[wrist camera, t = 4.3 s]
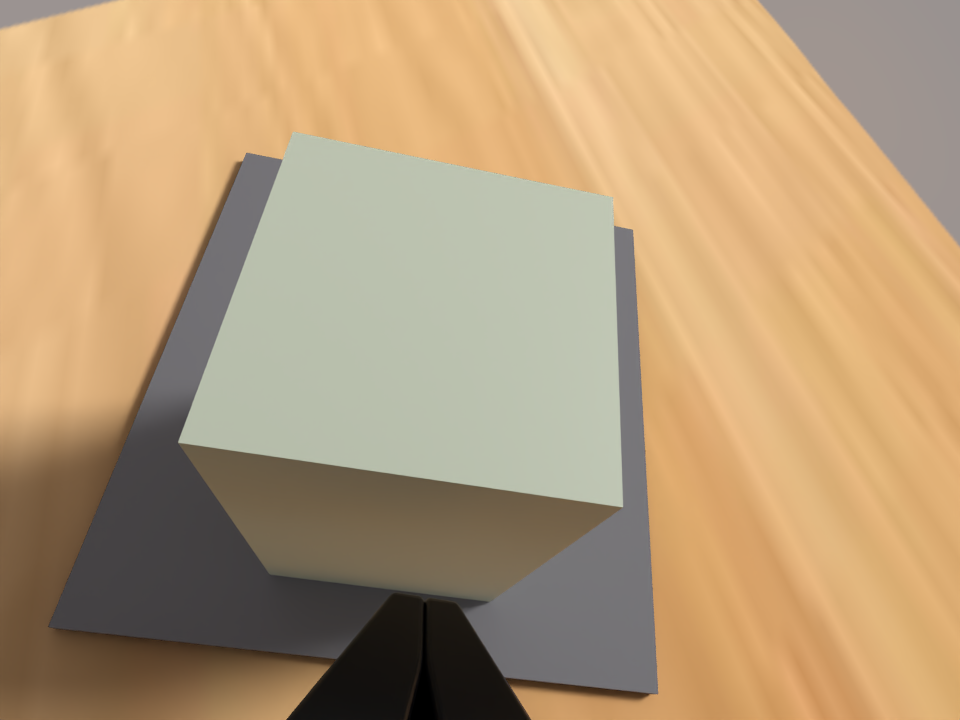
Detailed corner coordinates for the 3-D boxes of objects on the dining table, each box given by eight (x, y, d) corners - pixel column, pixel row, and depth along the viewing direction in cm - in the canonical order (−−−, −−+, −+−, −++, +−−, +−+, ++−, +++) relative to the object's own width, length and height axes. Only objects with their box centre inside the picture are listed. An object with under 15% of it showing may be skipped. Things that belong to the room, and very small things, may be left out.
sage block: (490, 601, 14) (623, 507, 7) (269, 574, 13) (178, 442, 6) (504, 407, 16) (612, 197, 9) (320, 377, 16) (293, 131, 9)
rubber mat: (652, 693, 14) (657, 694, 13) (54, 628, 12) (48, 627, 12) (629, 235, 21) (632, 229, 21) (247, 159, 19) (246, 152, 19)
